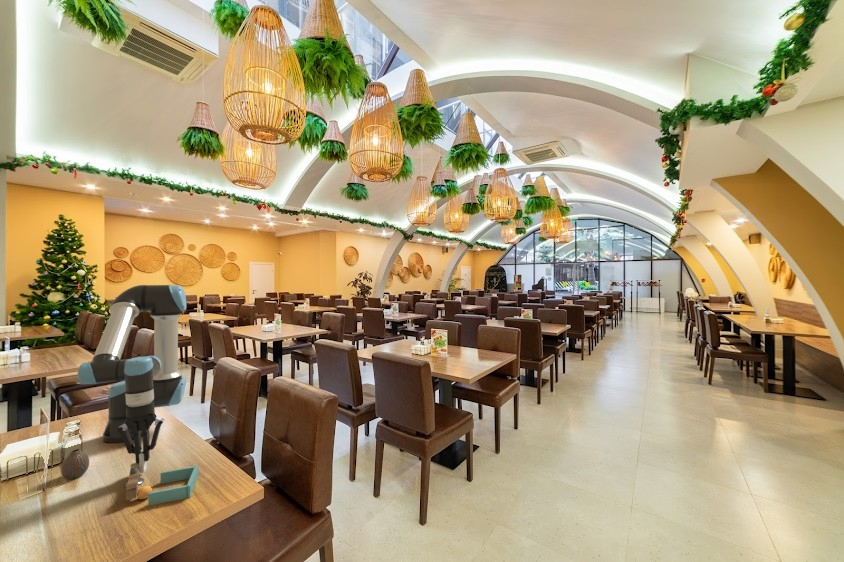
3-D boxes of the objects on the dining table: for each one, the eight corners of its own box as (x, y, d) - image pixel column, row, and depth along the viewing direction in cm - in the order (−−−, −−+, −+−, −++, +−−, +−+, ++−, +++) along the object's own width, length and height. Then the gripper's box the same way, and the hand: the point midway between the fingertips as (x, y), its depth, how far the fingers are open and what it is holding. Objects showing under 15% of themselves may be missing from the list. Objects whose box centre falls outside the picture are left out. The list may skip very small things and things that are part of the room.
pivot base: (127, 481, 115) (127, 479, 115) (146, 477, 117) (146, 476, 117) (121, 489, 111) (121, 488, 111) (140, 485, 113) (140, 484, 113)
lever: (131, 472, 119) (131, 461, 119) (140, 470, 121) (140, 458, 121) (125, 503, 103) (125, 489, 103) (136, 500, 104) (136, 486, 104)
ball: (136, 490, 107) (148, 481, 109) (143, 498, 108) (155, 489, 109) (132, 495, 104) (145, 486, 105) (140, 504, 104) (153, 494, 106)
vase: (71, 483, 114) (71, 456, 114) (54, 480, 116) (55, 454, 116) (94, 471, 121) (94, 446, 121) (79, 469, 122) (79, 444, 122)
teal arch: (161, 482, 115) (161, 471, 115) (198, 475, 119) (198, 465, 119) (148, 505, 103) (148, 494, 103) (190, 497, 107) (190, 486, 107)
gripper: (112, 410, 113) (115, 481, 113) (159, 403, 118) (162, 471, 119) (121, 402, 120) (124, 469, 120) (165, 396, 125) (168, 460, 126)
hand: (143, 470), depth 119 cm, fingers closed
